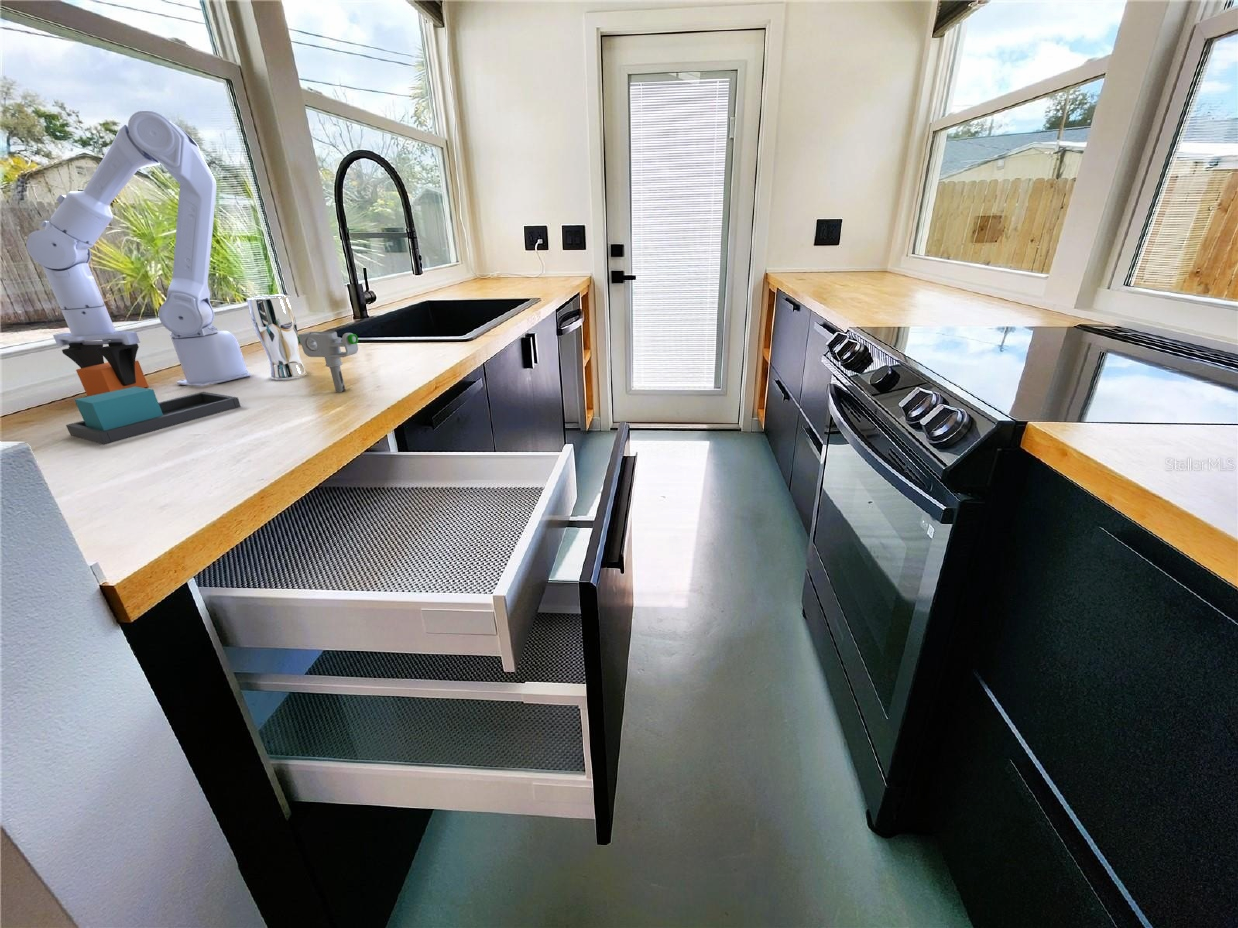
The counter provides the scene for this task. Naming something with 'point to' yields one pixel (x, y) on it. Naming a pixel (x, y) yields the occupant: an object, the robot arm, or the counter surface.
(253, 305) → the beer glass
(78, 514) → the counter surface
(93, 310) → the robot arm
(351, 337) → the mechanical component
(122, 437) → the tray
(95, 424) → the teal rectangular block
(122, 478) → the counter surface
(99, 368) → the orange block
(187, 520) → the counter surface
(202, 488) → the counter surface
